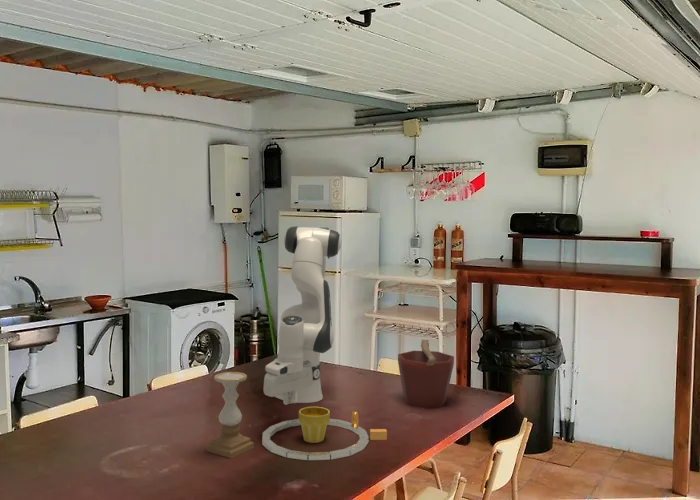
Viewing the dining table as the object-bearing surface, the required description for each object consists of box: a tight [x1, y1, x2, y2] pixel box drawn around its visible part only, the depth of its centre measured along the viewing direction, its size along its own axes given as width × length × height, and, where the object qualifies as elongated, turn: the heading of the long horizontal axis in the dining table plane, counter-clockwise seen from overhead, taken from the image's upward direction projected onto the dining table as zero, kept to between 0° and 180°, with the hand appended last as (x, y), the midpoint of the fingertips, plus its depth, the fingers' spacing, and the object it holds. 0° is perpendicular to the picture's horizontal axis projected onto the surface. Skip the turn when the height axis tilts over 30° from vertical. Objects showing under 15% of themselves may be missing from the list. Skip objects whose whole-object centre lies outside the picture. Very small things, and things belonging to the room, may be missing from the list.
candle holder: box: [205, 371, 255, 459], centre depth 199 cm, size 11×11×24 cm
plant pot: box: [298, 406, 331, 444], centre depth 209 cm, size 10×10×10 cm
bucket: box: [397, 339, 455, 409], centre depth 254 cm, size 24×22×25 cm
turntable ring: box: [261, 410, 370, 461], centre depth 209 cm, size 35×35×6 cm
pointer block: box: [369, 428, 388, 441], centre depth 211 cm, size 6×2×3 cm, turn 95°
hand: (288, 403), depth 215 cm, fingers closed
